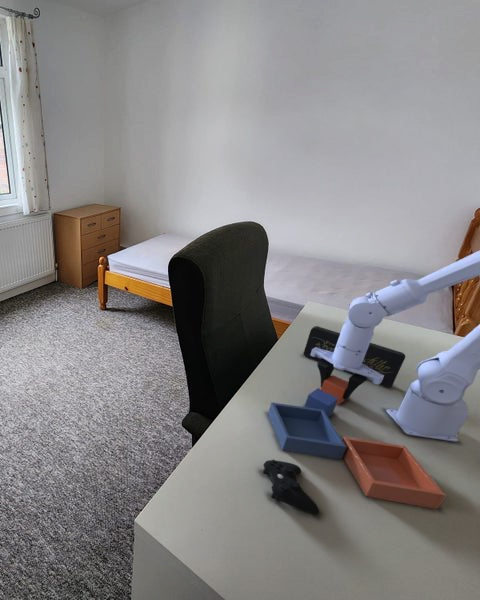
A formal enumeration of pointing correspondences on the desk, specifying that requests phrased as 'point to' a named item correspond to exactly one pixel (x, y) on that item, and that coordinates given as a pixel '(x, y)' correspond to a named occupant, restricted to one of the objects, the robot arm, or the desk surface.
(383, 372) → the nameplate
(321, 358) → the robot arm
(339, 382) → the terracotta block
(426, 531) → the desk surface
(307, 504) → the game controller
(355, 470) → the bin
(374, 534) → the desk surface
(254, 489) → the desk surface
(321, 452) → the blue bin
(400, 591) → the desk surface
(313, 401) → the blue block
